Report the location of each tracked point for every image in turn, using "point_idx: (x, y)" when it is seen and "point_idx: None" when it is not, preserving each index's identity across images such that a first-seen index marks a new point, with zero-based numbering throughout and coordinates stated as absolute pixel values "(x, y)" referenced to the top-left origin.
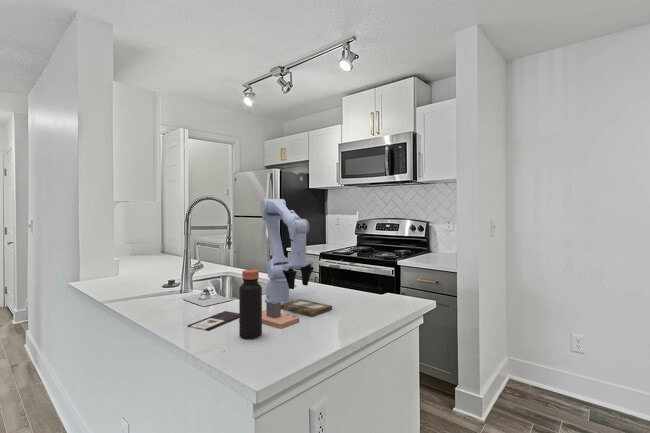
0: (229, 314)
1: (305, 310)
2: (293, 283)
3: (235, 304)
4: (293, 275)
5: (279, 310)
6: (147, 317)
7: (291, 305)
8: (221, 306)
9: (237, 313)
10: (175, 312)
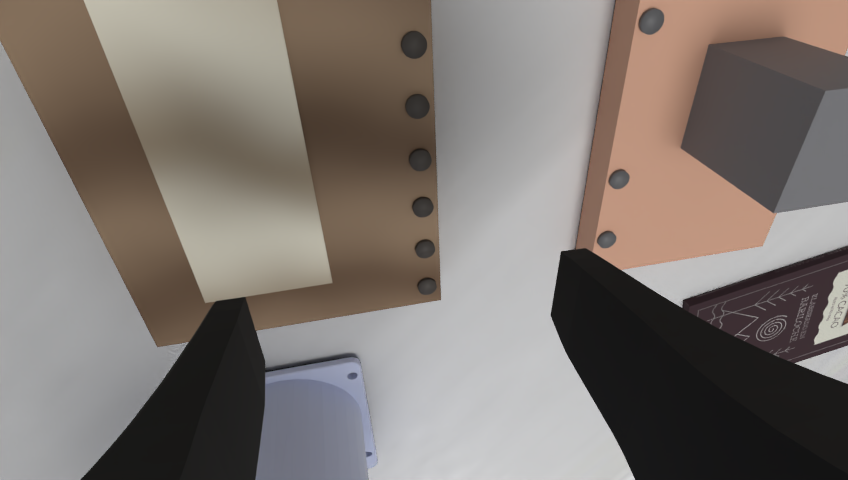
0: None
1: (405, 7)
2: (648, 292)
3: (532, 471)
4: (838, 398)
5: (768, 61)
6: None
7: (376, 246)
8: (598, 471)
9: None
10: None
